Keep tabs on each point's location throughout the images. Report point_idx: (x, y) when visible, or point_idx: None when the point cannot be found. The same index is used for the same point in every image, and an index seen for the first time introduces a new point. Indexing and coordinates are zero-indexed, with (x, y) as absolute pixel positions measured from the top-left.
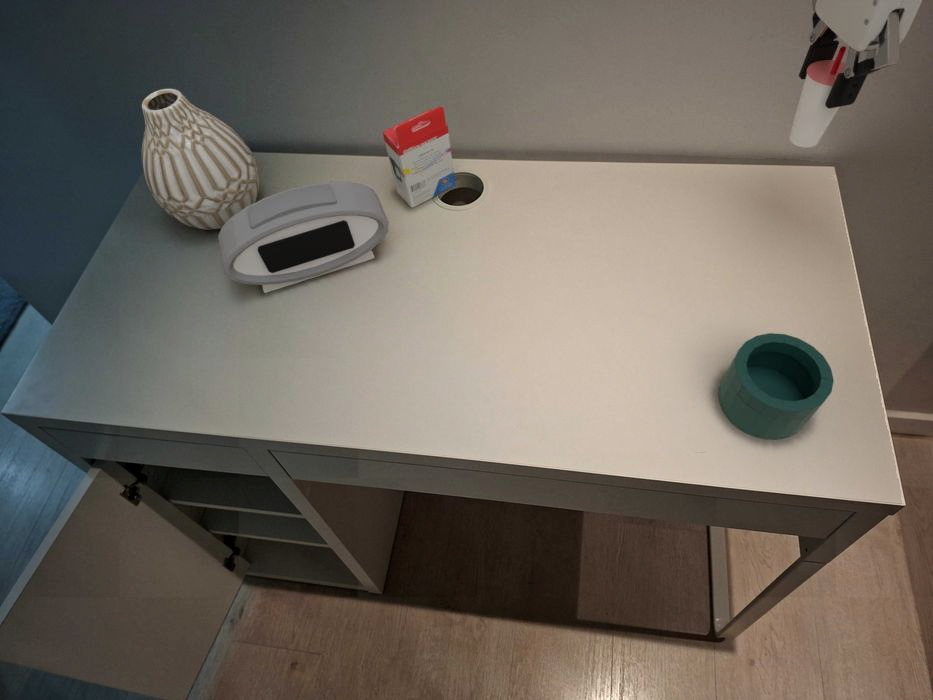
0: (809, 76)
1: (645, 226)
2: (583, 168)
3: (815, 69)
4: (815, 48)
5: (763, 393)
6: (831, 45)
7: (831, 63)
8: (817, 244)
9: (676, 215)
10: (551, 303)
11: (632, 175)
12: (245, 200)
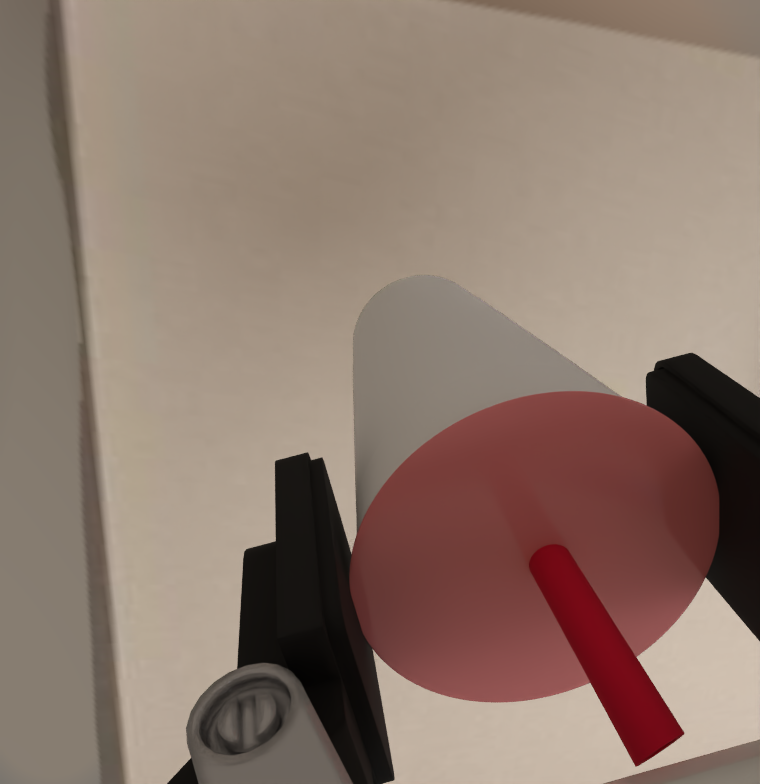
0: (551, 694)
1: None
2: (150, 712)
3: (475, 657)
4: (385, 778)
5: None
6: (354, 675)
7: (408, 551)
8: (500, 103)
9: (348, 497)
10: (603, 723)
11: (173, 602)
12: None
